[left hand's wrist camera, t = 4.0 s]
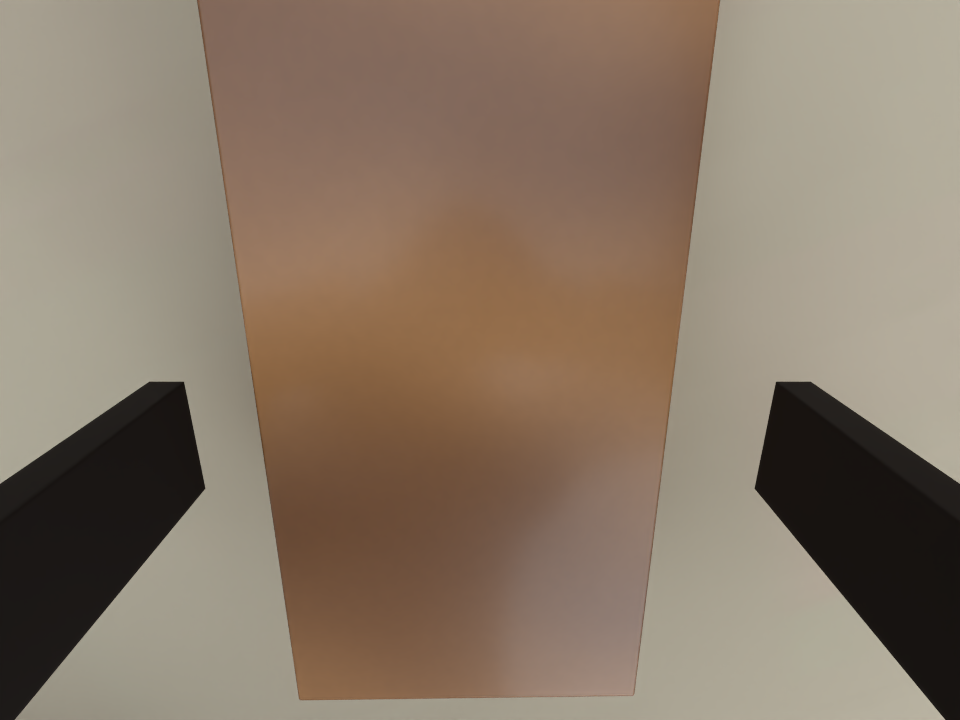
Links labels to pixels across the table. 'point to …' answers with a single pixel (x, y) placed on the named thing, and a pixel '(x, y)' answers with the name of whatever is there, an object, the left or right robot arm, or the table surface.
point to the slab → (462, 323)
